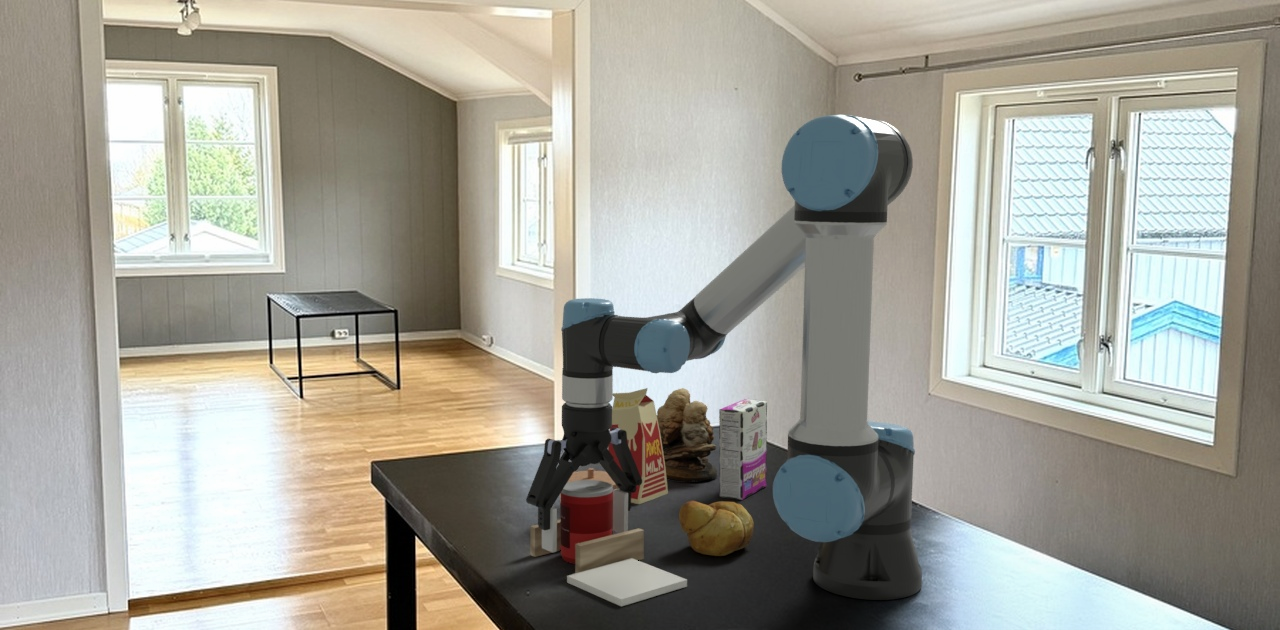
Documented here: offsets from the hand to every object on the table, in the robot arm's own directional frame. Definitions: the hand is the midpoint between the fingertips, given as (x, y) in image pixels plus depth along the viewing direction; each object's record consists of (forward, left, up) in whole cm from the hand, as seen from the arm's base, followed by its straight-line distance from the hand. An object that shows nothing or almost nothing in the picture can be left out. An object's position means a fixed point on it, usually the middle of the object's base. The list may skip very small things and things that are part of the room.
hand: (585, 541), depth 171 cm
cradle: (0, 0, -2) cm, 2 cm away
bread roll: (-10, -19, -3) cm, 22 cm away
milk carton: (+22, -28, -3) cm, 36 cm away
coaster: (-13, +3, -2) cm, 14 cm away
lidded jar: (+13, -11, -3) cm, 17 cm away
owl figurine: (+28, -46, -3) cm, 54 cm away
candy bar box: (+11, -45, -3) cm, 46 cm away
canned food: (0, 0, -3) cm, 3 cm away
